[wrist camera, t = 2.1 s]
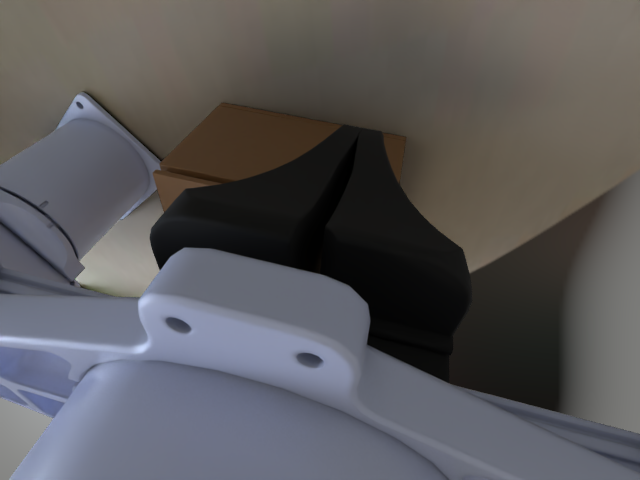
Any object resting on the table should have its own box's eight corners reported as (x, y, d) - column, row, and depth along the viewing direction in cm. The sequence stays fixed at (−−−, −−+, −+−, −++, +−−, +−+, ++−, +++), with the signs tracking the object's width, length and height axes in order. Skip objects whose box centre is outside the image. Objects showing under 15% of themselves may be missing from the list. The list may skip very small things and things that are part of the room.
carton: (406, 136, 22) (393, 224, 17) (369, 273, 31) (353, 360, 26) (221, 102, 24) (150, 171, 18) (238, 242, 33) (194, 318, 27)
